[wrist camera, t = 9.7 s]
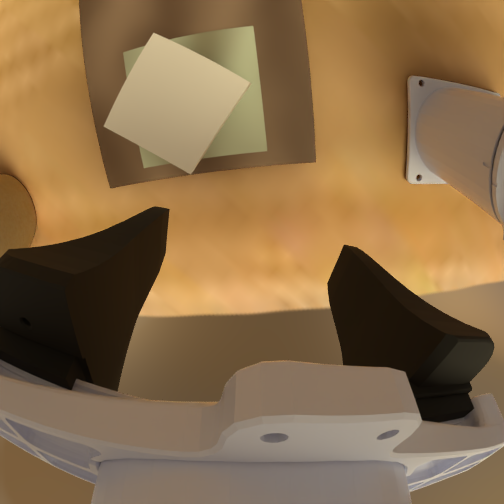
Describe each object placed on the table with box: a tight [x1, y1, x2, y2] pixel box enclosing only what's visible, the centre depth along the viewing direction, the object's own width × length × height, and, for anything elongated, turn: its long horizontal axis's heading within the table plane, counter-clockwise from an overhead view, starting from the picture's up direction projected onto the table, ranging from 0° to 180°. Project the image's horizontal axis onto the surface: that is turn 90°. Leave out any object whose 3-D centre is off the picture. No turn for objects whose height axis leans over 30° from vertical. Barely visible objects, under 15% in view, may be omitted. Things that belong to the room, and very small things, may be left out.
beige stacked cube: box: [104, 33, 252, 174], centre depth 14 cm, size 5×5×5 cm
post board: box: [79, 0, 316, 188], centre depth 12 cm, size 14×22×5 cm, turn 6°
